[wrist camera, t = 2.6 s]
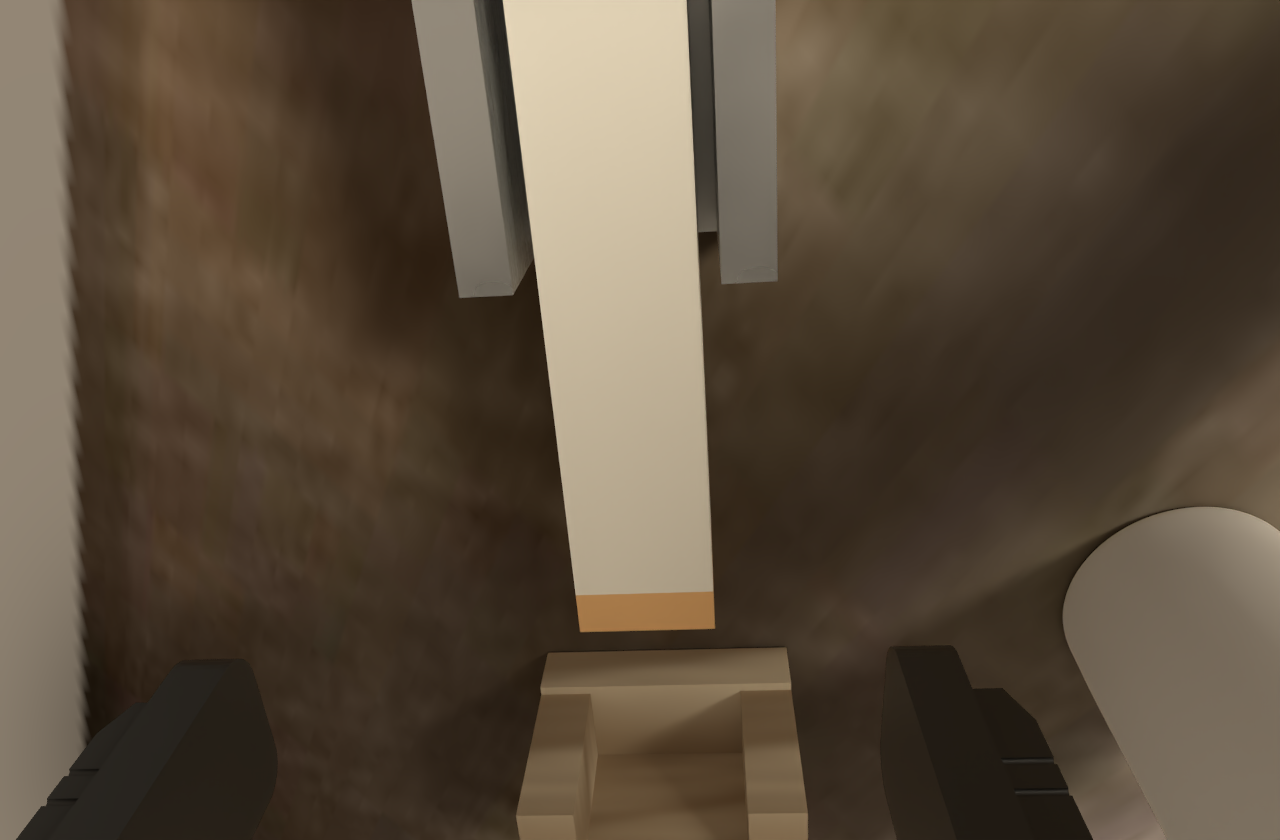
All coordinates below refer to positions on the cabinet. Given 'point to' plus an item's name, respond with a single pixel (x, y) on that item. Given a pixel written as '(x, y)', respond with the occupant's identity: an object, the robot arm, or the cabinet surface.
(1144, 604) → the mug
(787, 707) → the socket
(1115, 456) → the cabinet surface
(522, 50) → the cream square bar
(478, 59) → the grey slotted channel block
